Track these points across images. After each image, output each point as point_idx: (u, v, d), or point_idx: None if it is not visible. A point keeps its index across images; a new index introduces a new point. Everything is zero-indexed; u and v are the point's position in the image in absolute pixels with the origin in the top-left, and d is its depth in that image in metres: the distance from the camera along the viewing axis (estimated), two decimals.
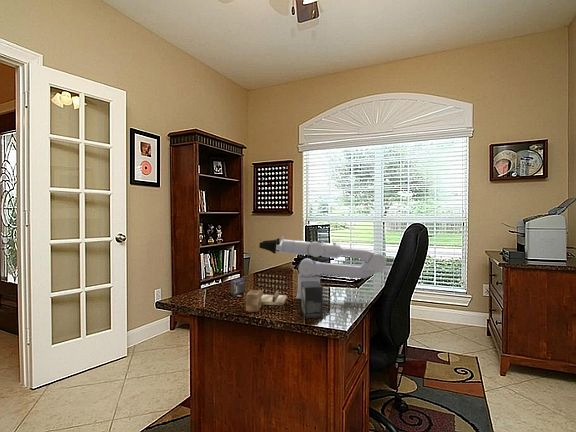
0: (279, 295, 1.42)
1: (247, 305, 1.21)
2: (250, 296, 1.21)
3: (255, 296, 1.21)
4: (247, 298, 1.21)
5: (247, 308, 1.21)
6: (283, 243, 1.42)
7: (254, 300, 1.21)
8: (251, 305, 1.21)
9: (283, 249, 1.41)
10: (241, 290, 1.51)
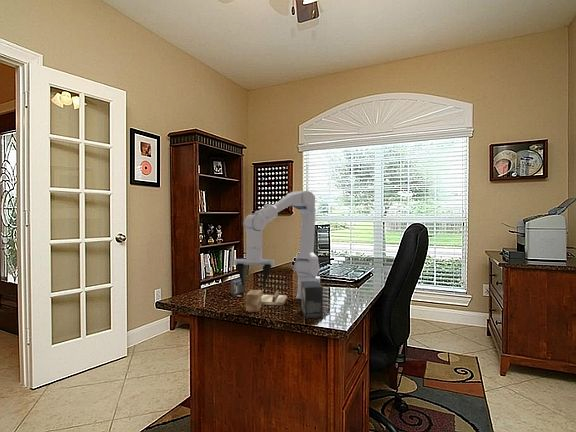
0: (279, 295, 1.42)
1: (247, 305, 1.21)
2: (250, 296, 1.21)
3: (255, 296, 1.21)
4: (247, 298, 1.21)
5: (247, 308, 1.21)
6: (260, 259, 1.23)
7: (254, 300, 1.21)
8: (251, 305, 1.21)
9: None
10: (241, 290, 1.51)
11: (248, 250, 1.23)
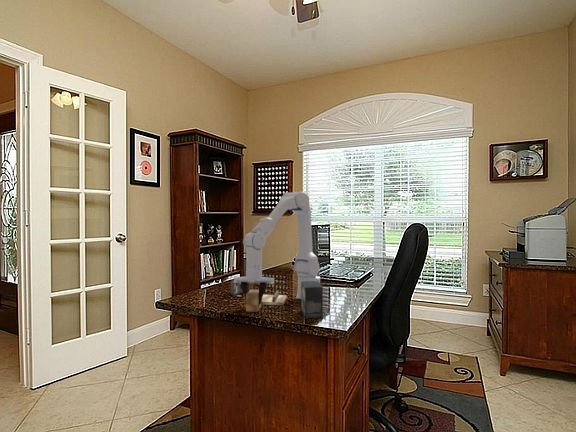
0: (279, 295, 1.42)
1: (247, 305, 1.21)
2: (250, 296, 1.21)
3: (255, 296, 1.21)
4: (247, 298, 1.21)
5: (247, 308, 1.21)
6: (260, 277, 1.23)
7: (254, 300, 1.21)
8: (251, 304, 1.21)
9: None
10: (241, 290, 1.51)
11: (248, 268, 1.23)
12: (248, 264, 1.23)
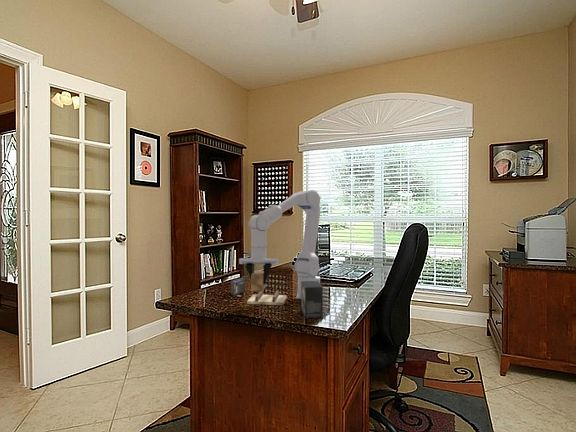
0: (279, 295, 1.42)
1: (252, 285, 1.25)
2: (255, 276, 1.25)
3: (260, 276, 1.25)
4: (252, 278, 1.25)
5: (252, 287, 1.25)
6: (264, 258, 1.27)
7: (259, 280, 1.25)
8: (256, 284, 1.25)
9: None
10: (241, 290, 1.51)
11: (253, 250, 1.27)
12: (253, 245, 1.27)
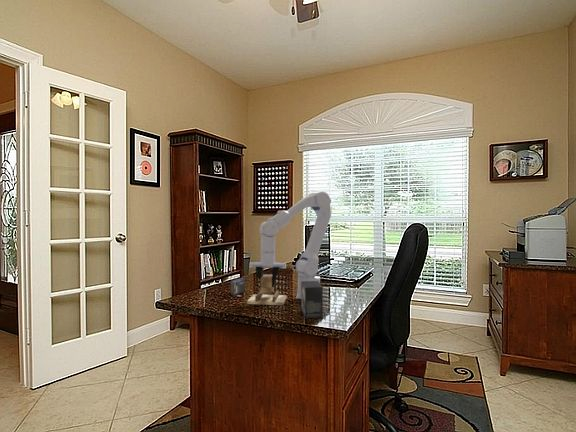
0: (279, 295, 1.42)
1: (262, 287, 1.33)
2: (264, 279, 1.33)
3: (269, 279, 1.32)
4: (262, 281, 1.33)
5: (262, 290, 1.33)
6: (273, 262, 1.35)
7: (268, 283, 1.32)
8: (265, 287, 1.33)
9: None
10: (241, 290, 1.51)
11: (262, 254, 1.35)
12: (261, 250, 1.35)
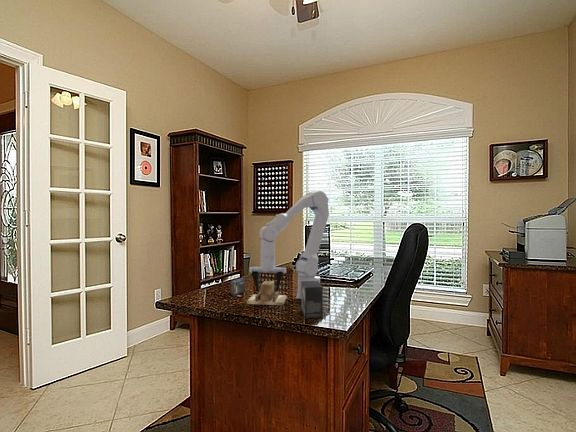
0: (279, 295, 1.42)
1: (262, 294, 1.33)
2: (264, 286, 1.33)
3: (269, 286, 1.32)
4: (262, 288, 1.33)
5: (261, 297, 1.33)
6: (273, 267, 1.35)
7: (268, 290, 1.33)
8: (265, 294, 1.33)
9: None
10: (241, 290, 1.51)
11: (262, 259, 1.35)
12: (261, 255, 1.35)
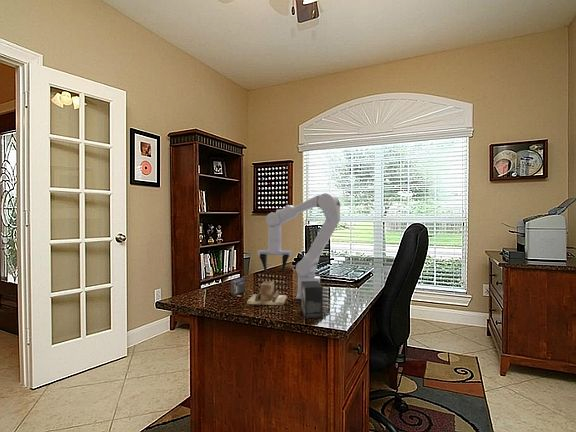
0: (279, 295, 1.42)
1: (262, 294, 1.33)
2: (264, 286, 1.33)
3: (269, 286, 1.32)
4: (262, 288, 1.33)
5: (261, 297, 1.33)
6: (279, 250, 1.48)
7: (268, 290, 1.33)
8: (265, 294, 1.33)
9: None
10: (241, 290, 1.51)
11: (270, 242, 1.47)
12: None
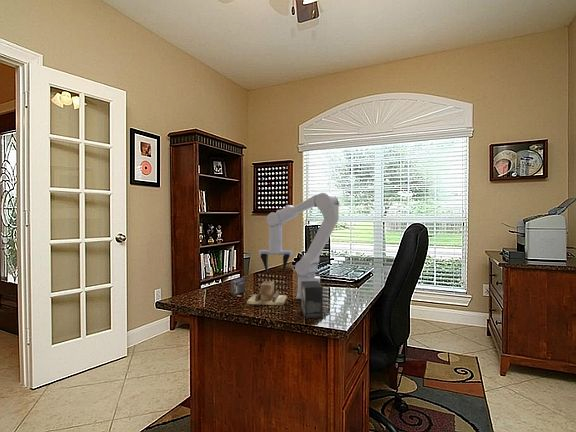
0: (279, 295, 1.42)
1: (262, 294, 1.33)
2: (264, 286, 1.33)
3: (269, 286, 1.32)
4: (262, 288, 1.33)
5: (261, 297, 1.33)
6: (280, 249, 1.49)
7: (268, 290, 1.33)
8: (265, 294, 1.33)
9: None
10: (241, 290, 1.51)
11: (270, 242, 1.49)
12: None
